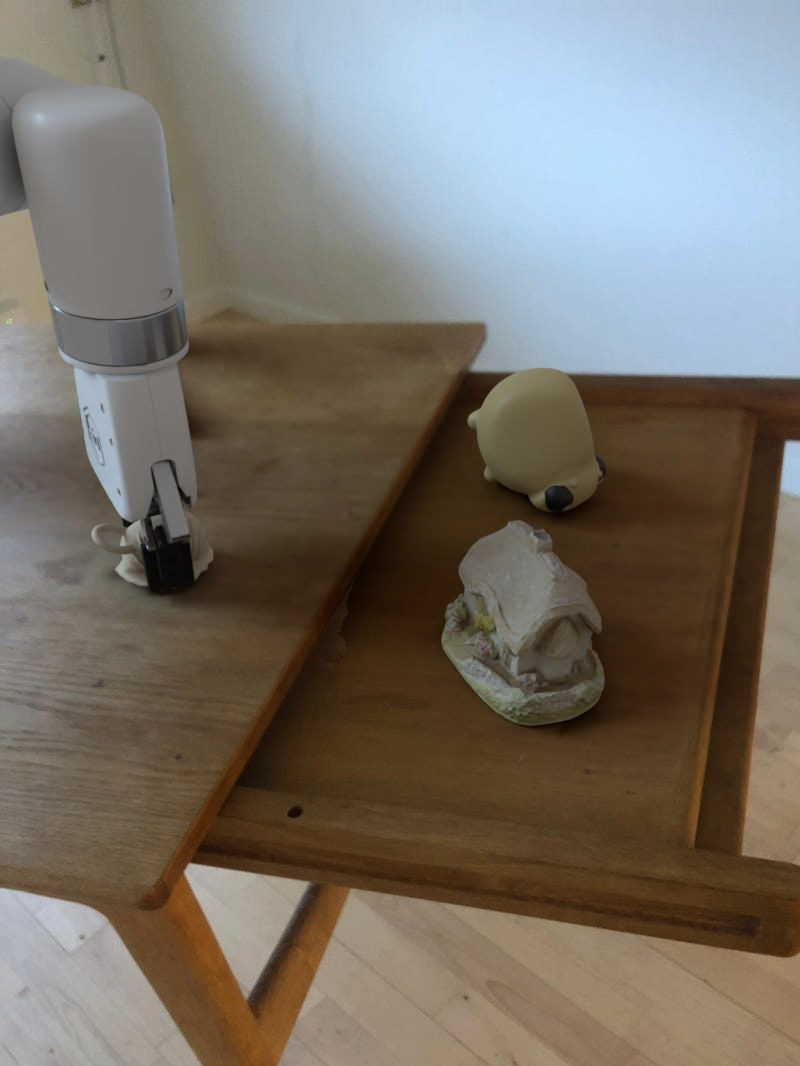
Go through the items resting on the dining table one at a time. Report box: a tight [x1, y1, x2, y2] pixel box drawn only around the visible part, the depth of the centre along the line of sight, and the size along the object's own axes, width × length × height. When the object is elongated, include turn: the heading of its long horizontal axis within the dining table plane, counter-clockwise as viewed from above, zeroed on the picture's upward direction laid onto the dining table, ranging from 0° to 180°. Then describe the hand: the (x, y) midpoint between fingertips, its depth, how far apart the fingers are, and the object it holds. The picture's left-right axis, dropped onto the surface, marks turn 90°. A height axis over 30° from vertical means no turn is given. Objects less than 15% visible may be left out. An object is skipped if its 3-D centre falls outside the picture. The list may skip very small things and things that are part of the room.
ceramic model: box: [441, 519, 606, 727], centre depth 63 cm, size 14×11×10 cm
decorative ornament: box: [91, 510, 214, 590], centre depth 68 cm, size 4×8×5 cm, turn 121°
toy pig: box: [467, 367, 607, 514], centre depth 80 cm, size 10×12×11 cm
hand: (161, 565), depth 69 cm, fingers closed on decorative ornament, 4 cm apart
